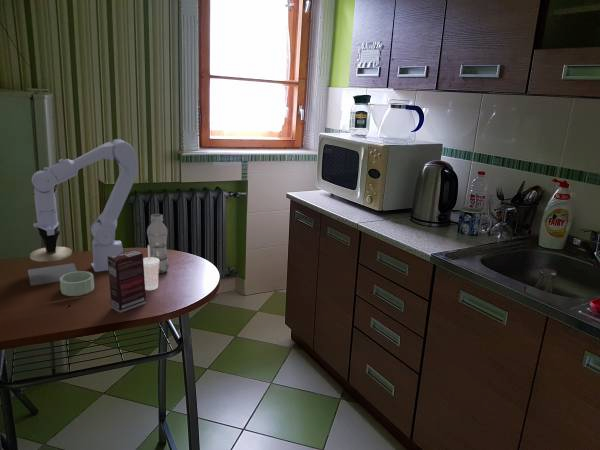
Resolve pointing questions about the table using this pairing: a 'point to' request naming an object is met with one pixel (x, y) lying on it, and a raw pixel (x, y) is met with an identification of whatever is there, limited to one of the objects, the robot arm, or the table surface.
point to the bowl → (76, 283)
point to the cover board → (50, 254)
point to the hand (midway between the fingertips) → (51, 250)
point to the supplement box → (126, 280)
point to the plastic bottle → (158, 241)
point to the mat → (49, 273)
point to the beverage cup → (151, 271)
